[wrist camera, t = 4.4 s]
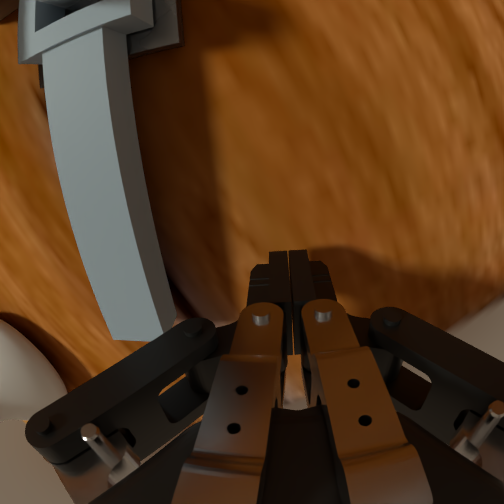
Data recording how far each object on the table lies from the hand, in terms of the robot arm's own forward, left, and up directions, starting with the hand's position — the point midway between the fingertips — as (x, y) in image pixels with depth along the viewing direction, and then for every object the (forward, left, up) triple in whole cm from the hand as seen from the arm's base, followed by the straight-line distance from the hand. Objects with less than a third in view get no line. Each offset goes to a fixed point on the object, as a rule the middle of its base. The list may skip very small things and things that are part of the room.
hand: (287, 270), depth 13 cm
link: (+7, -7, -1) cm, 9 cm away
